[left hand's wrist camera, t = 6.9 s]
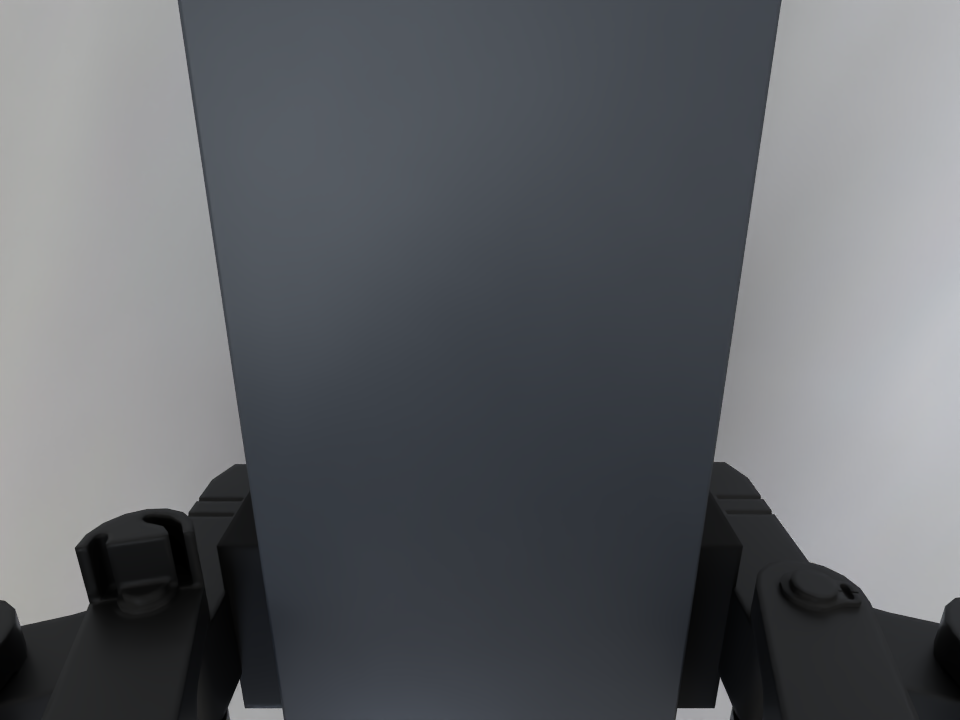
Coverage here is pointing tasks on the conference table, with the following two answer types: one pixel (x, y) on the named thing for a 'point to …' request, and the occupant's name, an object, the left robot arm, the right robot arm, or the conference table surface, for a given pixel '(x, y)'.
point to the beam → (479, 334)
